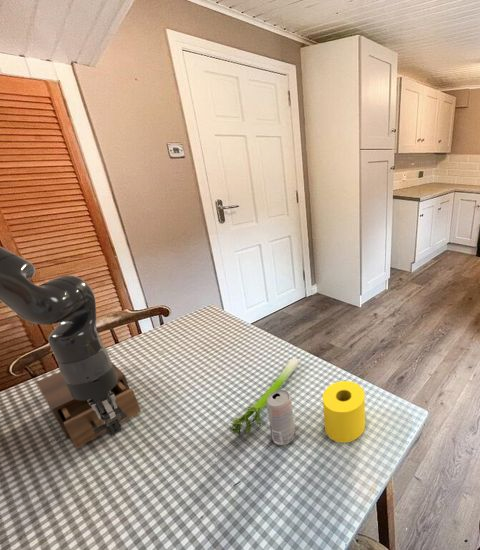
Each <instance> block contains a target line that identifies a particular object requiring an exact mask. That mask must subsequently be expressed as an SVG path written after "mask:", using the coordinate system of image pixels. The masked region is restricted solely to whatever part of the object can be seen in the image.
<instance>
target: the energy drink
mask: <svg viewBox="0 0 480 550" xmlns="http://www.w3.org/2000/svg"><path fill="white" fill-rule="evenodd" d="M292 402H293V401H292V397H291V395H290V393H289V391H287V390H285V389H279V390H277V391H274V392H272V393H271V394H270V395H269V396H268V398H267V404H266V409H267V415H268V419H269V420H268V421H269V427H270V432H271V439H272V442H273V443H274V444H275V445H277V446H286V445H288V444H290V443H291V442H292V441H294V439H295V437H296V427H295V419H294V409H293V403H292Z"/></svg>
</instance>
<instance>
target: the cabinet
mask: <svg viewBox="0 0 480 550" xmlns="http://www.w3.org/2000/svg"><path fill="white" fill-rule="evenodd" d="M112 364H113V367H114V369H115V372H116V374H117V377H118V381H120V382H121V383H122V384H123V385H124V386H125V387H126V389H127V390H128V389H130V388H131V387H130V386H129V384H128V381H127V378H126V375H125V373H123V372H122V371H121V370H120V368H118V367H117V366H116V364H115V363H114V362H112ZM36 384H37V386H38V388H39V390H40V392H41V394H42V396H43V397H44V399H45V402H46V404H47V405H48V407H49V409H50V411H51V413H52V414H53V417H54V418H55V420H56V422H57V423H58V426H59V427H60V429H61V431H62V433H63V435H64V436H65V439H68V438H71V437H70V435H69V433H68V431H67V429H66V427H65V425H64V423H63V422H65V421H66V420H65V418H64V417H63V415H62V413H61V411H60V409H61V408H63V407H65V406H67V405H69V404H71V403H73V402H75V401H78V400H75V399H74V398H73V397H72V395H71V393H70V391H69V389H68V387H67V385H66V383H65V381H64V378H63V376H62V374H61V372H60V371H59V372H58V373H54V374H53V375H50V376H48V377H45V378H43V379H40V380H39V381H36Z"/></svg>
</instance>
